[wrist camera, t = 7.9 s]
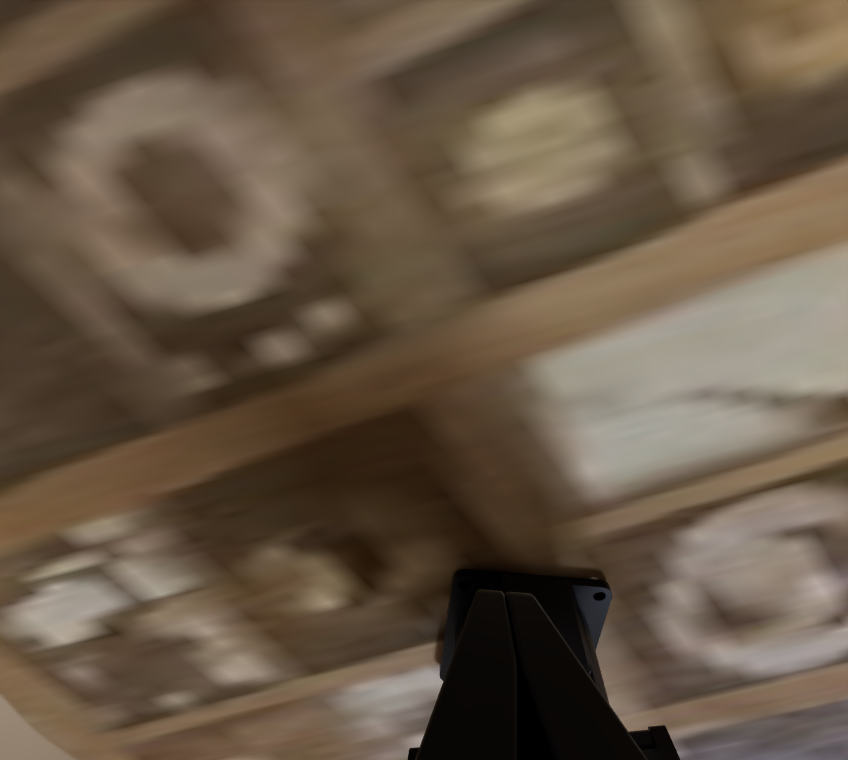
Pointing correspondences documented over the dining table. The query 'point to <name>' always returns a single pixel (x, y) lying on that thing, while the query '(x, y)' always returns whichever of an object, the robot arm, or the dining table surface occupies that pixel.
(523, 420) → the dining table surface
